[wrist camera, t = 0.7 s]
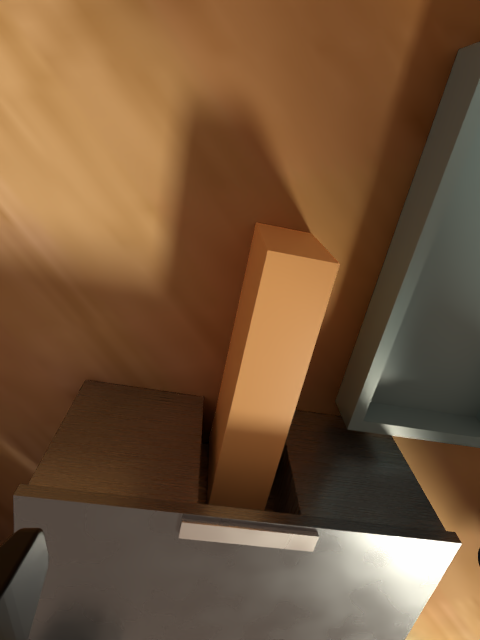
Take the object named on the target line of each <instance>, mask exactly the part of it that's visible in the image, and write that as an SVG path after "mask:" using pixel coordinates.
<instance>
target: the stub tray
mask: <svg viewBox="0 0 480 640" xmlns="http://www.w3.org/2000/svg"><path fill="white" fill-rule="evenodd" d="M335 402H336V405H337V407H338V409H339V411H340V414H341V416H342V418H343V421H344V423H345V425H346V428H347V429H348V430H355V431H362V432H370V433H377V434H384V435H391V436H398V437H405V438H413V439H420V440H427V441H434V442H441V443H449V444H456V445H463V446H470V447H477V448H480V42H478V43H475V44H472V45H469V46H467V47H464V48H461V49H459V50H458V53H457V56H456V59H455V62H454V64H453V67H452V70H451V73H450V76H449V79H448V82H447V84H446V87H445V90H444V93H443V96H442V99H441V101H440V104H439V107H438V110H437V113H436V116H435V119H434V121H433V124H432V127H431V130H430V133H429V136H428V138H427V141H426V144H425V147H424V150H423V153H422V156H421V158H420V161H419V164H418V167H417V170H416V173H415V175H414V178H413V181H412V184H411V187H410V190H409V193H408V195H407V198H406V201H405V204H404V207H403V210H402V212H401V215H400V218H399V221H398V224H397V227H396V230H395V232H394V235H393V238H392V241H391V244H390V247H389V249H388V252H387V255H386V258H385V261H384V264H383V267H382V269H381V272H380V275H379V278H378V281H377V284H376V286H375V289H374V292H373V295H372V298H371V301H370V304H369V306H368V309H367V312H366V315H365V318H364V321H363V323H362V326H361V329H360V332H359V335H358V338H357V341H356V343H355V346H354V349H353V352H352V355H351V358H350V360H349V363H348V366H347V369H346V372H345V375H344V378H343V380H342V383H341V386H340V389H339V392H338V395H337V397H336V400H335Z"/></svg>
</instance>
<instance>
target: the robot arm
mask: <svg viewBox="0 0 480 640" xmlns="http://www.w3.org/2000/svg"><path fill="white" fill-rule="evenodd" d="M478 561H479V565H480V549H479V551H478ZM48 564H49V554H48V550H47V545H46V540H45V535H44V532H43V530H42V529H41V528H21V529H19V530H17V531H16V532H15V533H14V534H13V535H12V536H11V537H10V538H9V539H8V540H6V541H5V542H4V543H3V544H2V545H1V546H0V640H28V638H29V634H30V631H31V627H32V624H33V620H34V616H35V613H36V609H37V605H38V602H39V598H40V595H41V591H42V587H43V584H44V580H45V577H46V573H47V569H48Z"/></svg>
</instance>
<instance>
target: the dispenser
mask: <svg viewBox="0 0 480 640" xmlns="http://www.w3.org/2000/svg"><path fill="white" fill-rule="evenodd" d="M203 402H204V397H201V396H194V395H187V394H180V393H173V392H166V391H159V390H152V389H145V388H138V387H131V386H124V385H117V384H110V383H103V382H96V381H89V380H85V382H84V384H83V386H82V388H81V389H80V391H79V393H78V395H77V397H76V398H75V400H74V402H73V404H72V406H71V408H70V409H69V411H68V413H67V415H66V417H65V418H64V420H63V422H62V424H61V426H60V428H59V429H58V431H57V433H56V435H55V437H54V438H53V440H52V442H51V444H50V446H49V448H48V449H47V451H46V453H45V455H44V457H43V459H42V460H41V462H40V464H39V466H38V468H37V469H36V471H35V473H34V475H33V477H32V479H31V480H30V482H29V484H28V485H27V484H19V486H18V488H17V490H16V491H15V493H14V495H13V505H14V533H15V532H16V531H17V530H19V529H21V528H41V529H42V530H43V532H44V535H45V540H46V545H47V550H48V554H49V564H48V569H47V573H46V577H45V580H44V584H43V587H42V591H41V595H40V598H39V602H38V605H37V609H36V613H35V616H34V620H33V624H32V627H31V631H30V634H29V638H28V640H405V638H406V637H407V635H408V633H409V632H410V630H411V628H412V627H413V625H414V623H415V622H416V620H417V618H418V617H419V615H420V613H421V612H422V610H423V608H424V606H425V605H426V603H427V601H428V600H429V598H430V596H431V595H432V593H433V591H434V590H435V588H436V586H437V585H438V583H439V581H440V580H441V578H442V576H443V575H444V573H445V571H446V569H447V568H448V566H449V564H450V563H451V561H452V559H453V558H454V556H455V554H456V553H457V551H458V549H459V548H460V546H461V544H462V543H461V541H460V540H459V538H458V536H457V535H456V533H455V532H449V531H446V530H445V528H444V527H443V525H442V523H441V521H440V520H439V518H438V516H437V514H436V513H435V511H434V509H433V507H432V506H431V504H430V502H429V500H428V499H427V497H426V495H425V493H424V492H423V490H422V488H421V486H420V485H419V483H418V481H417V479H416V478H415V476H414V474H413V472H412V471H411V469H410V467H409V465H408V464H407V462H406V460H405V458H404V457H403V455H402V453H401V451H400V450H399V448H398V446H397V444H396V443H395V441H394V439H393V437H392V436H391V435H384V434H377V433H370V432H362V431H355V430H348V429H347V428H346V425H345V423H344V421H343V418H342V417H341V416H334V415H327V414H320V413H313V412H306V411H299V410H295V412H294V415H293V419H292V422H291V425H290V428H289V432H288V435H287V438H286V441H285V445H284V448H283V451H282V454H281V458H280V461H279V464H278V467H277V471H276V474H275V477H274V480H273V484H272V487H271V490H270V493H269V497H268V500H267V503H266V506H265V510H264V511H261V510H252V509H243V508H234V507H225V506H216V505H207V490H208V462H209V444H205V443H201V435H202V419H203Z"/></svg>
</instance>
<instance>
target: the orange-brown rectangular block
mask: <svg viewBox="0 0 480 640" xmlns="http://www.w3.org/2000/svg"><path fill="white" fill-rule="evenodd" d="M339 266H340V263H339V262H338V261H337V260H336V259H335V258H334V257H333V256H332V255H331V254H330V253H329V252H328V251H327V250H326V248H325V247H324V246H323V245H322V244H321V243H320V242H319V241H318V240H317V239H316V238H315V237H314V236H313V235H312V234H311V233H308V232H303V231H298V230H293V229H288V228H283V227H278V226H273V225H268V224H263V223H257V222H256V225H255V229H254V234H253V239H252V243H251V248H250V252H249V257H248V262H247V266H246V271H245V276H244V280H243V285H242V290H241V294H240V299H239V304H238V308H237V313H236V317H235V322H234V327H233V331H232V336H231V341H230V345H229V350H228V355H227V359H226V364H225V369H224V373H223V378H222V382H221V387H220V392H219V396H218V401H217V406H216V410H215V415H214V420H213V424H212V429H211V433H210V438H209V462H208V490H207V505H216V506H225V507H234V508H243V509H252V510H261V511H264V510H265V506H266V503H267V500H268V497H269V493H270V490H271V487H272V484H273V480H274V477H275V474H276V471H277V467H278V464H279V461H280V458H281V454H282V451H283V448H284V445H285V441H286V438H287V435H288V432H289V428H290V425H291V422H292V419H293V415H294V412H295V409H296V406H297V402H298V399H299V396H300V393H301V389H302V386H303V383H304V380H305V376H306V373H307V370H308V367H309V363H310V360H311V357H312V354H313V350H314V347H315V344H316V341H317V337H318V334H319V331H320V328H321V324H322V321H323V318H324V315H325V311H326V308H327V305H328V302H329V298H330V295H331V292H332V289H333V285H334V282H335V279H336V276H337V272H338V269H339Z"/></svg>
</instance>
